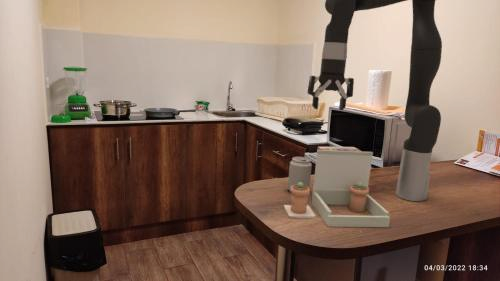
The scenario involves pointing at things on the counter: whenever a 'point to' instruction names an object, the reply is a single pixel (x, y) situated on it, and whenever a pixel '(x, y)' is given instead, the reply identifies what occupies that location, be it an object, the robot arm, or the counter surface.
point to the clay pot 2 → (358, 197)
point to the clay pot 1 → (299, 198)
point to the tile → (291, 214)
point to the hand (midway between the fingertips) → (328, 109)
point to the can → (299, 171)
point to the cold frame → (344, 188)
